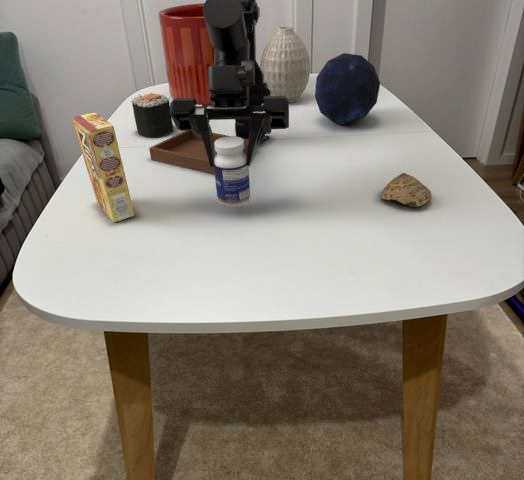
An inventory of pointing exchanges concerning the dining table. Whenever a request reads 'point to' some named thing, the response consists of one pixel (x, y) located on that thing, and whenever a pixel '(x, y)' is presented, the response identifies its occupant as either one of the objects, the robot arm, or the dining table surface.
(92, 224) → the dining table surface
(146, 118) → the sushi
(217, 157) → the pill bottle
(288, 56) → the vase
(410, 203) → the seashell
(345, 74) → the decorative orb
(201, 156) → the tray
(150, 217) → the dining table surface
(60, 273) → the dining table surface
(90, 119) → the candy box
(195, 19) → the planter
